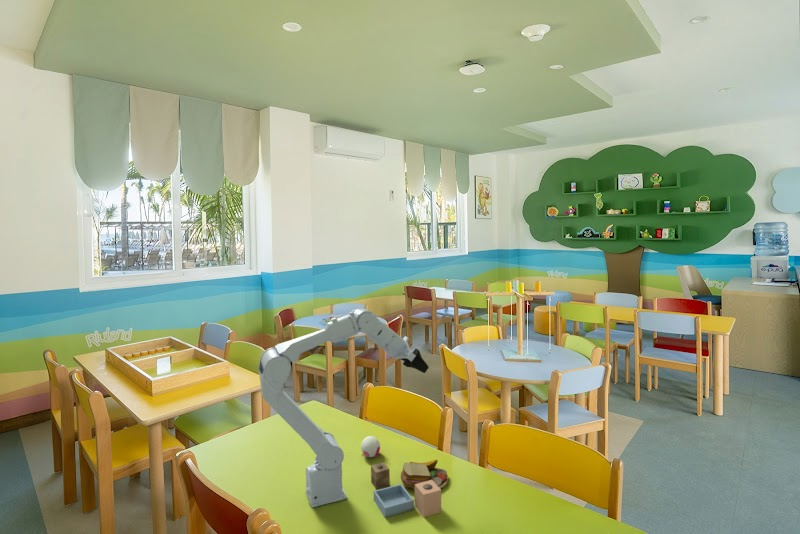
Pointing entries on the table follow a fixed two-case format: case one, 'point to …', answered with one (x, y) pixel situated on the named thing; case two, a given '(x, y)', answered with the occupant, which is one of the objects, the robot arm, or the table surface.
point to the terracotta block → (427, 498)
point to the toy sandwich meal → (423, 474)
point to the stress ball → (370, 446)
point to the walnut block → (380, 475)
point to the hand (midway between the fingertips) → (420, 366)
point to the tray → (393, 500)
